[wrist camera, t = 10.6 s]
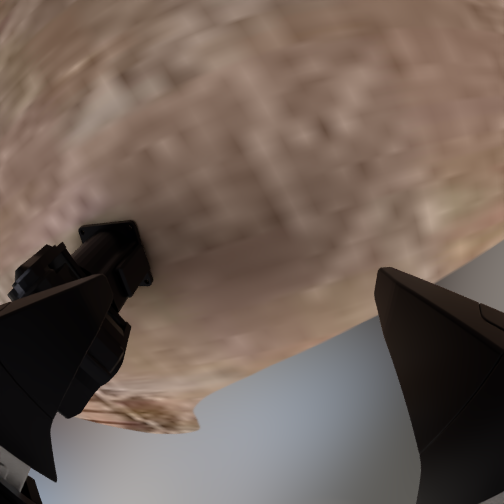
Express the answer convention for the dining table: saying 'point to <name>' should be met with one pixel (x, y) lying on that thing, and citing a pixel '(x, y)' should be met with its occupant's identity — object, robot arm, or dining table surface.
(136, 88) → the dining table surface
